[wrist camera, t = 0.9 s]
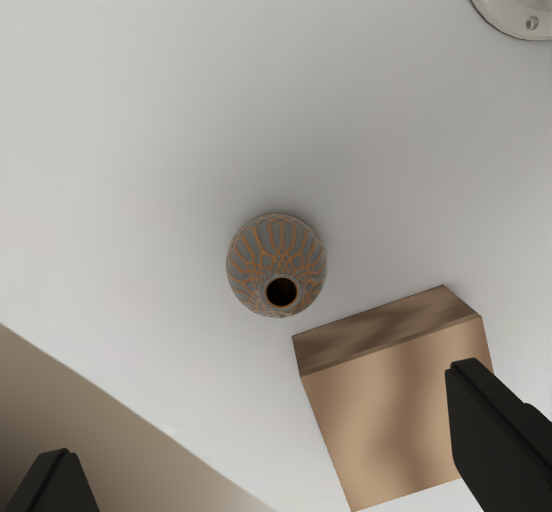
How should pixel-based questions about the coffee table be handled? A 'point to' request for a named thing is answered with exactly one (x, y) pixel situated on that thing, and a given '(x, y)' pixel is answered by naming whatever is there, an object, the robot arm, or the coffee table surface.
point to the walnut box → (389, 392)
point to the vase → (276, 265)
